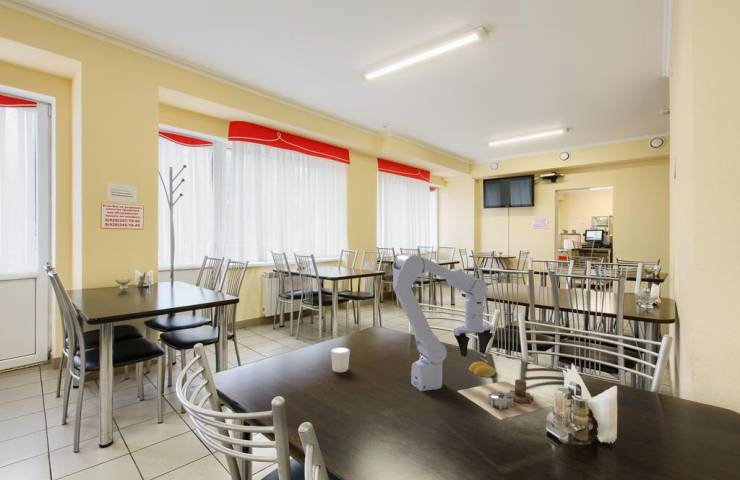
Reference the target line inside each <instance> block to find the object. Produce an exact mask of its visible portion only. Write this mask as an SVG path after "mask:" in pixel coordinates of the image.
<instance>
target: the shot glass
mask: <svg viewBox="0 0 740 480" xmlns="http://www.w3.org/2000/svg"><path fill="white" fill-rule="evenodd" d="M350 355H351V351H350V349H349V348H348V347H343V346H339V347H337V346H336V347H334V348H332V349H331V350H330V356H331V357H330V358H331V368H332V371H333V372H335V373H344V372H347V371H348V370H349V363H350Z"/></svg>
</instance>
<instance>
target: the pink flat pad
mask: <svg viewBox="0 0 740 480" xmlns="http://www.w3.org/2000/svg"><path fill="white" fill-rule="evenodd" d="M513 404H515V405H518V406H523V407H529V406H533V405H534V400H533V402H531V404H530V405H529V404H522V405H520V404H519V403H516V402H513Z"/></svg>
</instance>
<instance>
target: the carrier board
mask: <svg viewBox="0 0 740 480" xmlns="http://www.w3.org/2000/svg"><path fill="white" fill-rule="evenodd" d="M510 390H513V391H515V384H513V383H511V382H509V381H507V380H502V381H498V382H494V383H493V382H491V383H488V384H483V385H479V386H474V387H470V388H464V389H460V390H457V392H458V393H459V394H460V395H463V396H464V398H467V399H468V400H469V401H472V402H473V403H474V404H476V405H478V406H479V407H480V408H482V409H483V410H484V411H487V412H488V413H489V414H491V415H492V416H493V417H495V418H497V419H498V420H500V421H501V420H505V419H509V418H513V417H516V416H519V415H524V414H528V413H531V412H535V411H539V410H542V409H546V408H550V407H554V406H553V405H554V404H552V403H550V402H547V401H546V400H544V399H543V398H540V397H538V396H536V395H534V394H533V393H530V392H529V391H527V390H526V393H530V395H531V396H532V397H533V400H534V405H533V406H529V407H523V406H518V405H515V404H513V408H512V407H511V410H509V411H508V410H502V411H501V410H499V409H497V408H492V407H491V404H489V403H488V399H489V394H491V393H492V391H494V392H500V391H501V392H503V393H506V394H507V393H510Z"/></svg>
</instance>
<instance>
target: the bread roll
mask: <svg viewBox="0 0 740 480" xmlns="http://www.w3.org/2000/svg"><path fill="white" fill-rule="evenodd" d="M468 370H469V372H472V373H474V375H475V376H479V377H484V378H485V377H486V378H489V377H490V378H491V377H493V376H495V375H496V371H495V368H494V367H492V366H490V365H489V364H488V363H486V362H484V361H475V362H473V363H472V364H470V365H469V369H468Z"/></svg>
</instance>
